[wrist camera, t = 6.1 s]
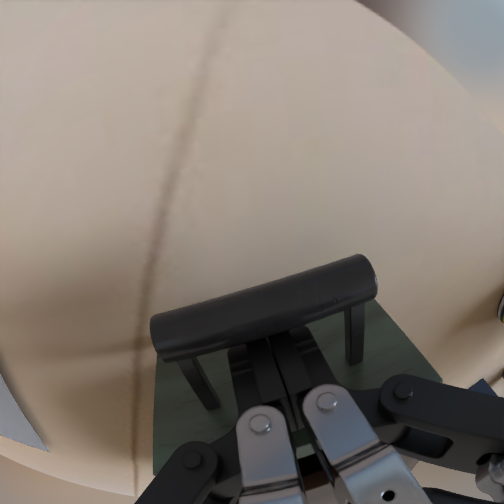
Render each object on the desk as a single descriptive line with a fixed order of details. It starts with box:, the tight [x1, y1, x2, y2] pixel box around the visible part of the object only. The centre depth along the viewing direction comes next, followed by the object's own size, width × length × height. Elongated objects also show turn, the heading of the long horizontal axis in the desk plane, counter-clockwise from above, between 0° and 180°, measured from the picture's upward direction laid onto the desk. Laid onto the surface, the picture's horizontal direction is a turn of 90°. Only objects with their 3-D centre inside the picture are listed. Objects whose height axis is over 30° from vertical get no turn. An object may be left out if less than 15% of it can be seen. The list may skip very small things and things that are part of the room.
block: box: [468, 379, 497, 396], centre depth 30 cm, size 5×5×5 cm
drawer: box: [150, 254, 443, 477], centre depth 14 cm, size 18×11×8 cm, turn 13°
